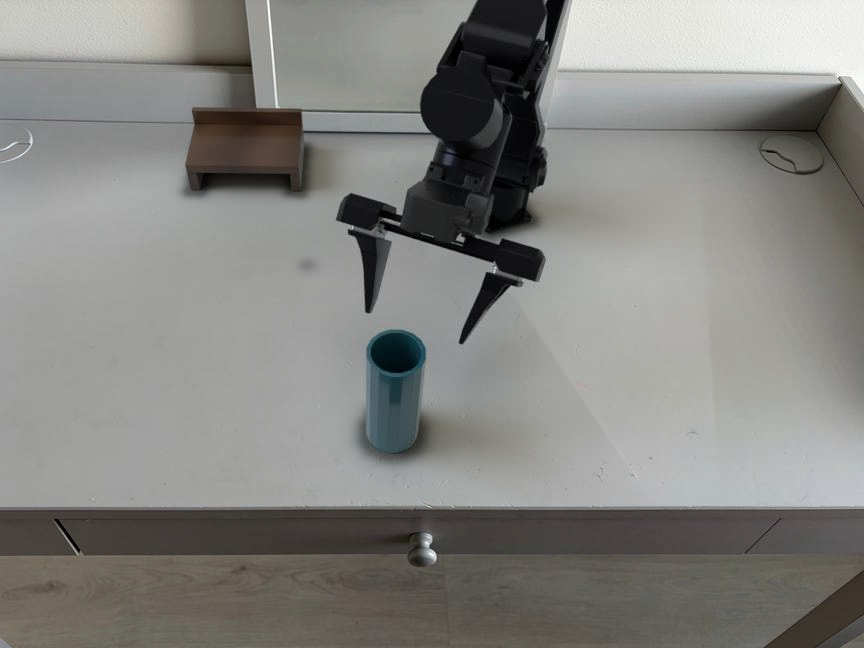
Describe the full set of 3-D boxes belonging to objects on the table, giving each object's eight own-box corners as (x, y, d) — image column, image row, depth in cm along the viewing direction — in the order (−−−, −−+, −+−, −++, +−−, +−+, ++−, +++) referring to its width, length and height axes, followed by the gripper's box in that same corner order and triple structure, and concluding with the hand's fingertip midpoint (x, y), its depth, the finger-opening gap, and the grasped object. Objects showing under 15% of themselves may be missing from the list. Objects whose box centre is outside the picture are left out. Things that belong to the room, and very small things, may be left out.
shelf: (304, 146, 105) (301, 108, 100) (300, 191, 99) (297, 153, 95) (200, 145, 104) (192, 106, 100) (190, 190, 99) (181, 151, 94)
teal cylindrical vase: (405, 402, 80) (411, 322, 70) (426, 443, 77) (435, 365, 67) (358, 418, 79) (357, 339, 69) (377, 460, 76) (379, 384, 66)
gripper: (342, 116, 63) (291, 299, 66) (564, 177, 59) (500, 369, 62) (378, 141, 74) (332, 297, 77) (568, 194, 70) (513, 357, 73)
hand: (413, 328), depth 72 cm, fingers open, 9 cm apart
